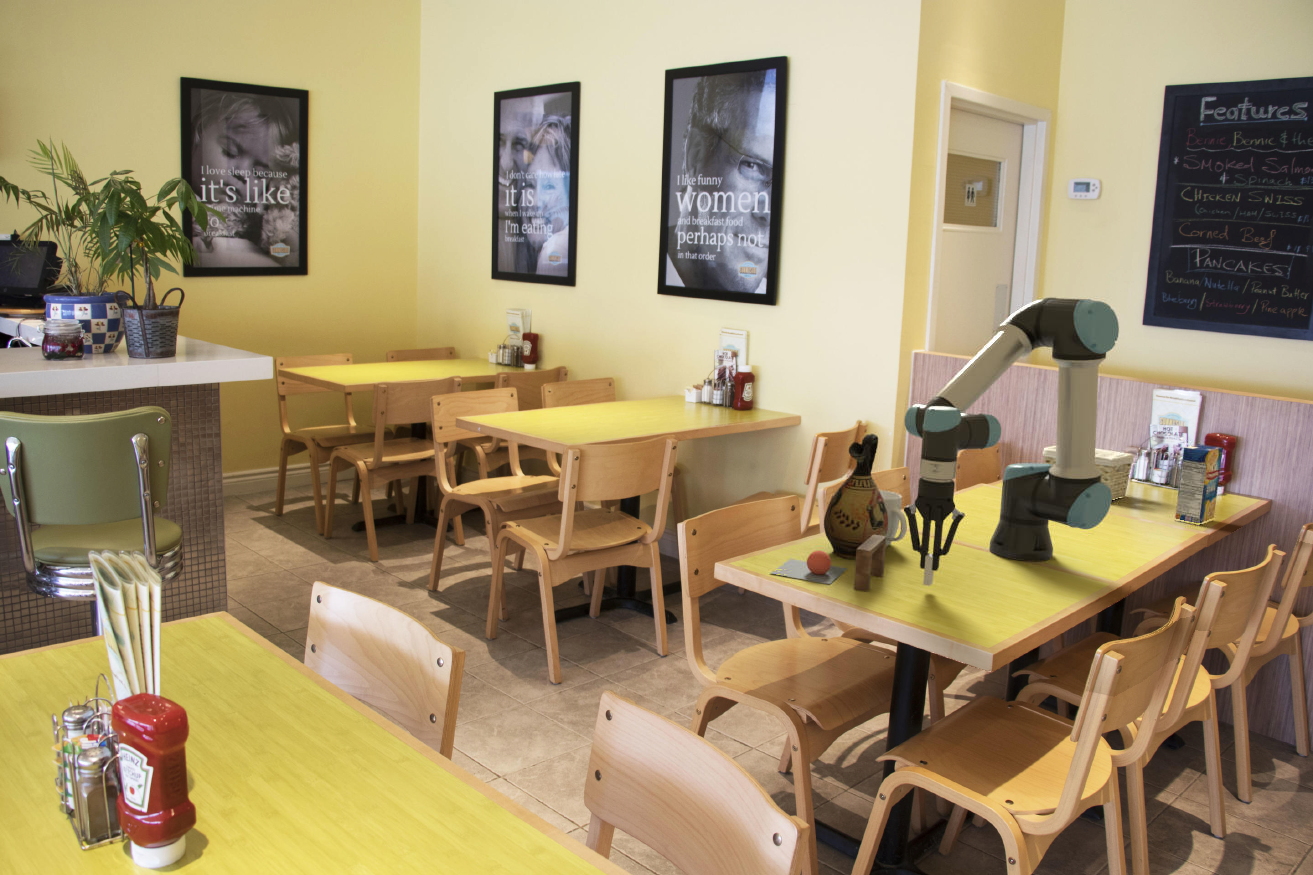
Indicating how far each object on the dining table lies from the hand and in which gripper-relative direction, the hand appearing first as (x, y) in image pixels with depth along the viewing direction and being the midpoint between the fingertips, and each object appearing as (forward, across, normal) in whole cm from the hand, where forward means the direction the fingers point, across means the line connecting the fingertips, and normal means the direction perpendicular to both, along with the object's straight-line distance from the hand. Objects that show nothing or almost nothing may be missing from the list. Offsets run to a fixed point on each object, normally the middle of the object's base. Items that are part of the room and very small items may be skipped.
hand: (927, 583), depth 226 cm
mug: (+2, -19, +33) cm, 38 cm away
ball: (-1, -25, -1) cm, 25 cm away
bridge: (+2, -13, 0) cm, 13 cm away
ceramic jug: (+2, -22, +21) cm, 30 cm away
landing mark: (+2, -27, 0) cm, 27 cm away
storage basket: (+2, +23, +135) cm, 137 cm away
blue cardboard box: (+2, +55, +114) cm, 127 cm away
